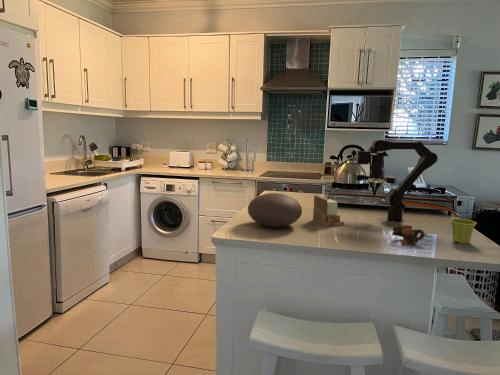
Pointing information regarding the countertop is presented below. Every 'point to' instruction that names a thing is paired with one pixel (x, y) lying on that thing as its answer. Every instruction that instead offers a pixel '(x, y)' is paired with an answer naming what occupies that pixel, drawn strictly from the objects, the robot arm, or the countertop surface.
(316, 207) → the walnut key housing
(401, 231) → the pottery mug
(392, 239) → the countertop surface
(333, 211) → the cream upright block
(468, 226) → the plant pot
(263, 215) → the flattened ellipsoid
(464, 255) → the countertop surface
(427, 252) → the countertop surface
